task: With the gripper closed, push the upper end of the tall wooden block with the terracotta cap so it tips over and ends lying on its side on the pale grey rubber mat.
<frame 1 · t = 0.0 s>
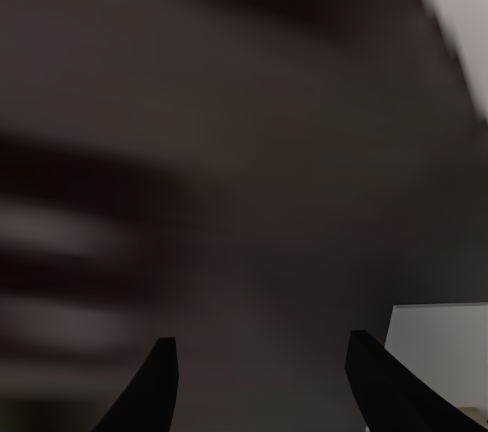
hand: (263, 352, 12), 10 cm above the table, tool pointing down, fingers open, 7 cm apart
wooden block: (438, 422, 30), resting on grey mat
grey mat: (436, 390, 28), on the table
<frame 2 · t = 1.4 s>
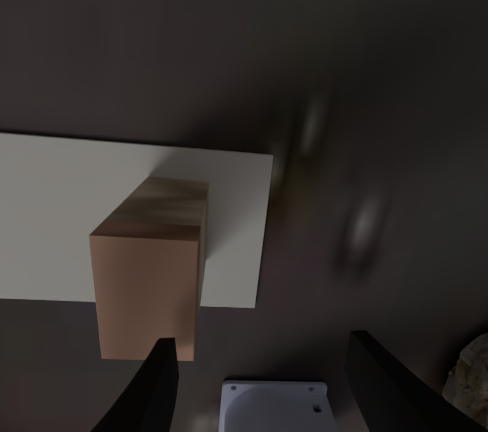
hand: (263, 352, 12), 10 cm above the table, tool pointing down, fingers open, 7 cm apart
rock: (487, 348, 28), on the table
wooden block: (178, 221, 21), resting on grey mat
grey mat: (121, 228, 21), on the table
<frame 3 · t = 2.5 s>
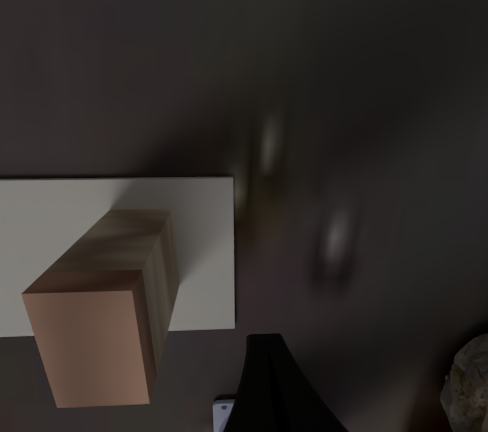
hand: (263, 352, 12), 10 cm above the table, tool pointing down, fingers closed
rock: (483, 350, 27), on the table
wooden block: (146, 250, 21), resting on grey mat
grey mat: (91, 261, 21), on the table
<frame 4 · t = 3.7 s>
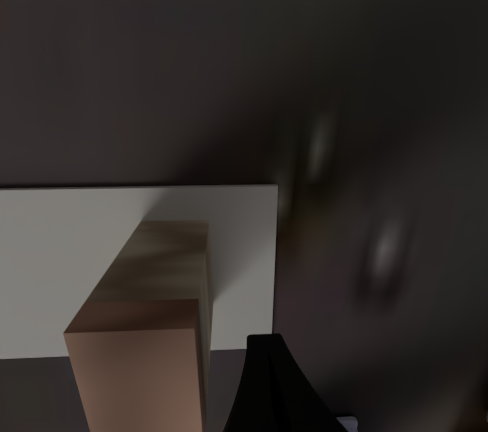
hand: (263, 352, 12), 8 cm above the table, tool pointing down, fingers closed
wooden block: (179, 265, 19), resting on grey mat
grey mat: (118, 277, 19), on the table
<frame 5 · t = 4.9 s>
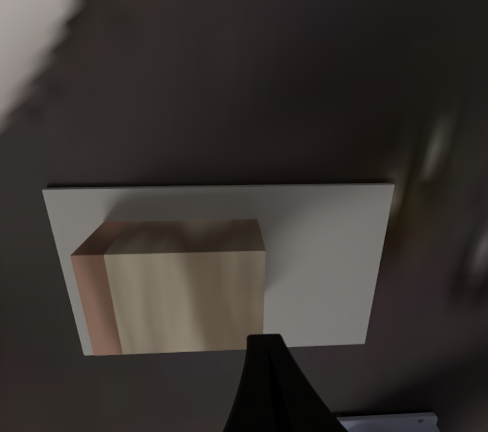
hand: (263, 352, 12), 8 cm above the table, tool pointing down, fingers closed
wooden block: (260, 280, 17), point 2 cm above the table, tilted 90°, touching grey mat
grey mat: (225, 274, 20), on the table
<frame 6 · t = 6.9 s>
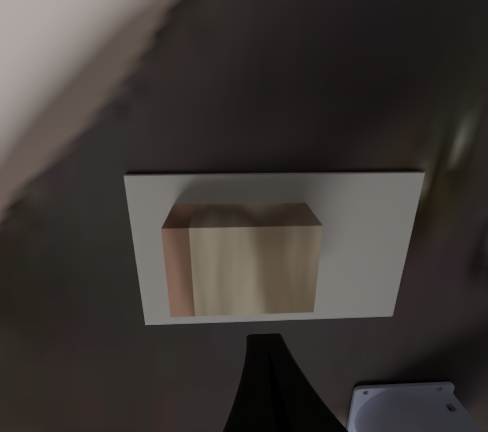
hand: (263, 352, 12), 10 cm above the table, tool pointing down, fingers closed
wooden block: (309, 255, 20), point 2 cm above the table, tilted 90°, touching grey mat
grey mat: (273, 252, 22), on the table
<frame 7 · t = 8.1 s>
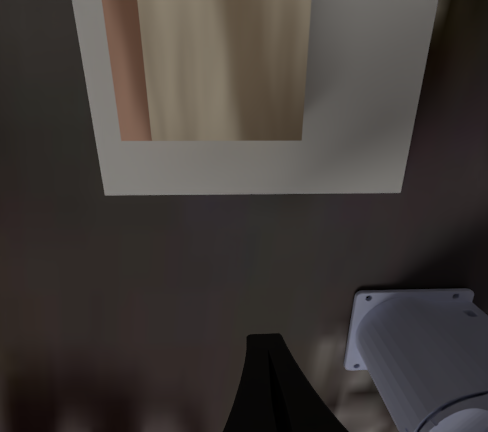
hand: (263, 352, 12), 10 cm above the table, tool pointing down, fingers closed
wooden block: (297, 78, 16), point 2 cm above the table, tilted 90°, touching grey mat
grey mat: (256, 98, 19), on the table
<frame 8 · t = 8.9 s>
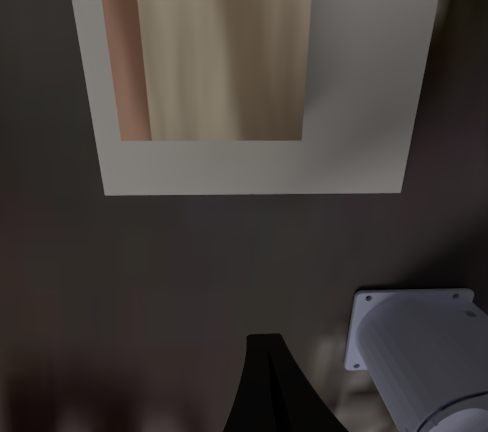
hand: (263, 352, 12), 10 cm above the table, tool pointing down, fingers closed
wooden block: (297, 78, 16), point 2 cm above the table, tilted 90°, touching grey mat
grey mat: (256, 98, 19), on the table
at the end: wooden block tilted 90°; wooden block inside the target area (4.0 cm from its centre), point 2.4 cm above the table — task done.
